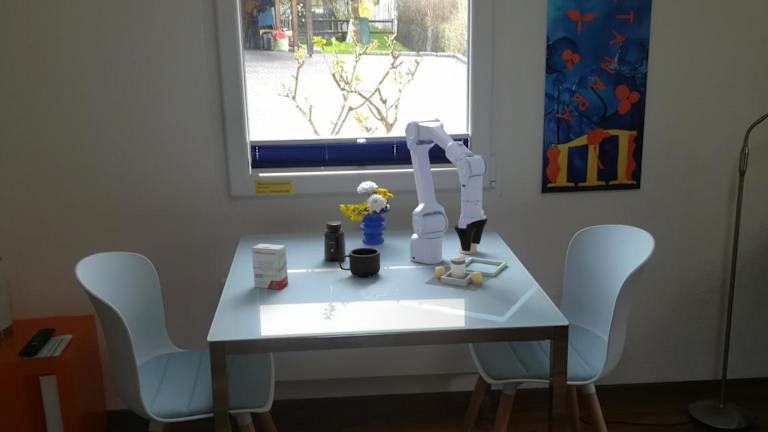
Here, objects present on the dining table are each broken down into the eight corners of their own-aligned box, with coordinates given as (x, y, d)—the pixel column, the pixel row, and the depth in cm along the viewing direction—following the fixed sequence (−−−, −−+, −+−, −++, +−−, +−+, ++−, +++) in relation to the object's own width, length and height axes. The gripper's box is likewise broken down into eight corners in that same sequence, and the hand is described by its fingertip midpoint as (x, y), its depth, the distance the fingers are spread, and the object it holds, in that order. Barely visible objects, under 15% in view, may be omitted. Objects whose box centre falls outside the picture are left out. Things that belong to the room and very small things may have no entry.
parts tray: (455, 274, 208) (455, 268, 207) (470, 263, 218) (470, 257, 217) (493, 280, 202) (493, 273, 202) (506, 268, 212) (506, 262, 212)
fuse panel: (424, 286, 198) (424, 272, 197) (442, 274, 208) (442, 261, 207) (475, 294, 191) (475, 280, 190) (490, 281, 201) (491, 267, 200)
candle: (476, 254, 226) (476, 224, 224) (458, 254, 227) (459, 223, 225) (477, 249, 232) (477, 220, 229) (460, 249, 233) (460, 219, 230)
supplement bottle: (320, 261, 223) (318, 224, 220) (330, 255, 229) (328, 219, 226) (340, 263, 220) (338, 226, 217) (349, 257, 226) (348, 220, 224)
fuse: (448, 281, 199) (448, 257, 197) (454, 277, 202) (454, 253, 201) (462, 283, 197) (462, 259, 195) (467, 279, 200) (467, 255, 199)
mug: (377, 268, 214) (376, 246, 213) (382, 278, 206) (382, 254, 204) (338, 272, 212) (337, 249, 211) (341, 281, 204) (341, 258, 202)
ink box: (289, 284, 202) (286, 244, 199) (281, 290, 198) (278, 249, 195) (262, 281, 205) (259, 242, 202) (253, 287, 200) (251, 247, 198)
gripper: (476, 206, 187) (475, 255, 191) (494, 195, 200) (493, 242, 203) (451, 204, 190) (451, 252, 194) (470, 193, 203) (470, 239, 206)
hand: (471, 247), depth 199 cm, fingers open, 7 cm apart
